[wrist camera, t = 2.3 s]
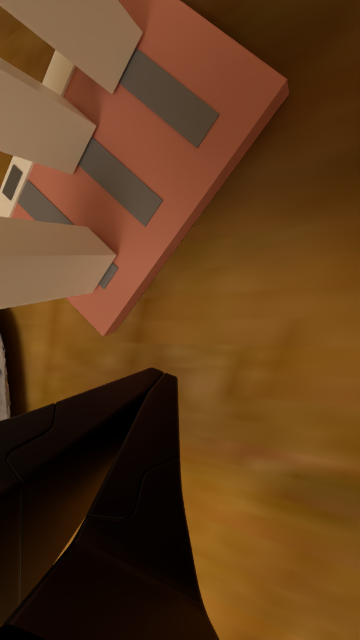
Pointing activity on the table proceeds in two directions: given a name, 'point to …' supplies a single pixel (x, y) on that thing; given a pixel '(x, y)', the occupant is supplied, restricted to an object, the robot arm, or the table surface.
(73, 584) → the robot arm
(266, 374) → the table surface
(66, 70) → the switch bank
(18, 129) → the tab
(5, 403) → the food plate
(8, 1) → the cream tall block
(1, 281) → the cream tall block
